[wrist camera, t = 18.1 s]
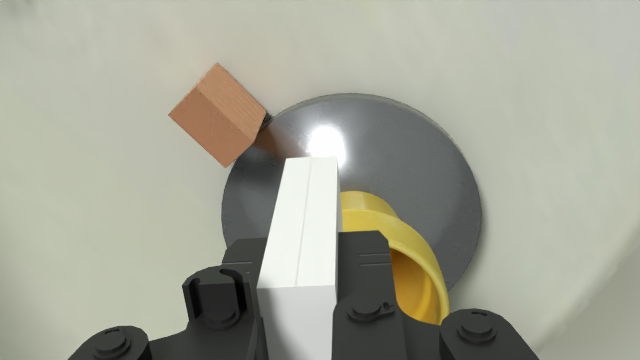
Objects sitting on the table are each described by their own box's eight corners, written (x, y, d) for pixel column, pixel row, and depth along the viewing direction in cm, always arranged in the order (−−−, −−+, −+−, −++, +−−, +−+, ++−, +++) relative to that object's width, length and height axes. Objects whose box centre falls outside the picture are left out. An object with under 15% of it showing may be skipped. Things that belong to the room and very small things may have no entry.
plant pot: (428, 158, 39) (452, 230, 30) (429, 290, 43) (450, 387, 34) (273, 167, 40) (250, 240, 31) (288, 295, 44) (272, 392, 35)
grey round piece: (343, 354, 48) (342, 411, 42) (120, 160, 42) (86, 198, 36) (528, 221, 42) (555, 267, 37) (302, -25, 36) (294, -14, 31)
